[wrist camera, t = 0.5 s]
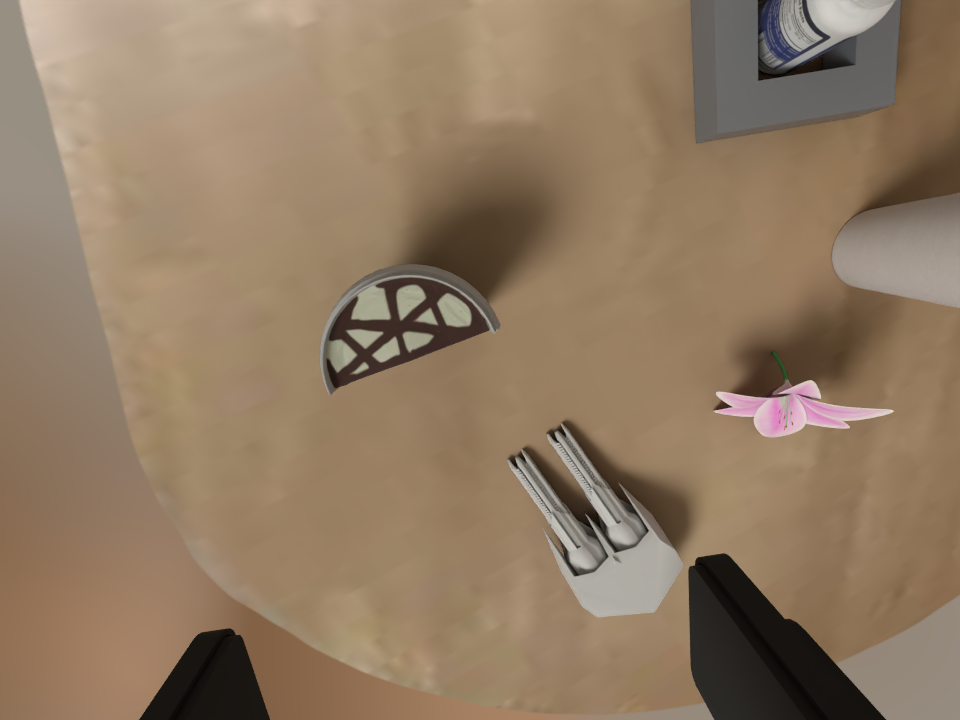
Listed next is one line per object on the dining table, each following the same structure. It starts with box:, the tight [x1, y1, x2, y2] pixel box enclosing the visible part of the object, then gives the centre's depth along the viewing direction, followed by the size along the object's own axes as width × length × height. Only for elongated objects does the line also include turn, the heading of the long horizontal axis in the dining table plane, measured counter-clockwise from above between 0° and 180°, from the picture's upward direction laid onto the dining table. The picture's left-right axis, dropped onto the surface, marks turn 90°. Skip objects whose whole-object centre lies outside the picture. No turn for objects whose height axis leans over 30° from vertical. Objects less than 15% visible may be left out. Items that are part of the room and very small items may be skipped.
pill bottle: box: [758, 0, 896, 75], centre depth 29 cm, size 5×5×10 cm
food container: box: [320, 264, 500, 396], centre depth 32 cm, size 12×6×10 cm, turn 110°
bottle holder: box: [691, 0, 901, 143], centre depth 32 cm, size 13×13×3 cm
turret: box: [507, 423, 684, 617], centre depth 41 cm, size 10×20×5 cm, turn 35°
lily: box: [714, 351, 893, 437], centre depth 37 cm, size 11×11×9 cm
